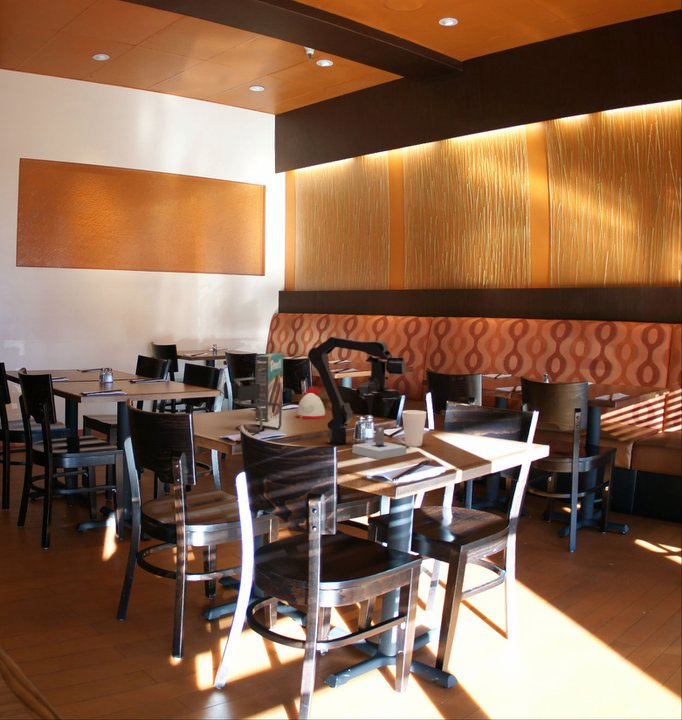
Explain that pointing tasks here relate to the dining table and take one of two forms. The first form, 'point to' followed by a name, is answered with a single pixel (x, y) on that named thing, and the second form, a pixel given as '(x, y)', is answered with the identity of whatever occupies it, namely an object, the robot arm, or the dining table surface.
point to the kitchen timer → (311, 405)
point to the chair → (251, 394)
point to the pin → (379, 437)
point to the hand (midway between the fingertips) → (377, 414)
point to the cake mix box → (269, 384)
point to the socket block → (379, 450)
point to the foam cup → (413, 427)
